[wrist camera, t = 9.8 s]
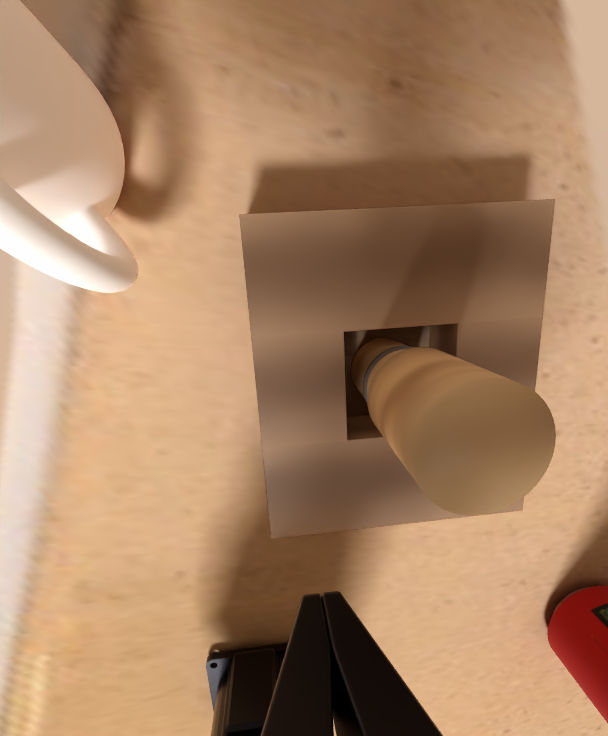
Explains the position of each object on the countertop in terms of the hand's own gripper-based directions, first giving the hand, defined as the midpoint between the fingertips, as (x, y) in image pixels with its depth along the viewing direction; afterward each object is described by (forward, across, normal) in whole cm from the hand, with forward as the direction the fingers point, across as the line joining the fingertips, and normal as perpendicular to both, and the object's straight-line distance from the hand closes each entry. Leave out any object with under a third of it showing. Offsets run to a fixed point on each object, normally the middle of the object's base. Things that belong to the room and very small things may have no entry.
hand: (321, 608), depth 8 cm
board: (+13, -5, -2) cm, 14 cm away
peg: (+13, -5, -2) cm, 14 cm away
